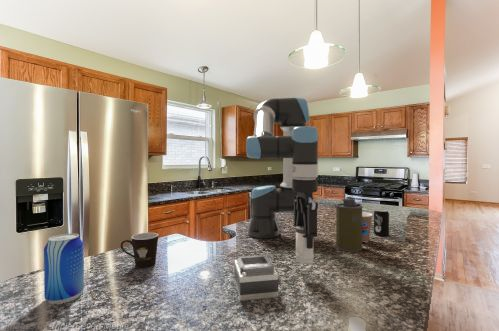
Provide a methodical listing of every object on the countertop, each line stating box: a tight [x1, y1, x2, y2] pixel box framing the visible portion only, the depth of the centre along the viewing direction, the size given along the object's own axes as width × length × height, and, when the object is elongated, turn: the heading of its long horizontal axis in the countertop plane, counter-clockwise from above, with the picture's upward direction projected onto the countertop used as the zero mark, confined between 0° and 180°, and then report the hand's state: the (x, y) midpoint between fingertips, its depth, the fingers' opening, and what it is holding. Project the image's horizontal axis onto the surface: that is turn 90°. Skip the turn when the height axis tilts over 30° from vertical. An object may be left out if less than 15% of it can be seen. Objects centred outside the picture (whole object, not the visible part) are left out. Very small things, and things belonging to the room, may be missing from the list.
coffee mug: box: [120, 232, 159, 270], centre depth 92 cm, size 12×9×10 cm
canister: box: [335, 197, 364, 253], centre depth 109 cm, size 11×10×20 cm
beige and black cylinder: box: [295, 226, 314, 265], centre depth 81 cm, size 5×5×10 cm
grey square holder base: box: [233, 254, 279, 301], centre depth 75 cm, size 12×10×7 cm
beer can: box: [43, 233, 85, 305], centre depth 70 cm, size 8×8×16 cm
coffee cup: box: [362, 211, 374, 243], centre depth 119 cm, size 10×10×12 cm
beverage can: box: [373, 208, 390, 237], centre depth 128 cm, size 7×7×12 cm
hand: (304, 254), depth 81 cm, fingers closed on beige and black cylinder, 5 cm apart
